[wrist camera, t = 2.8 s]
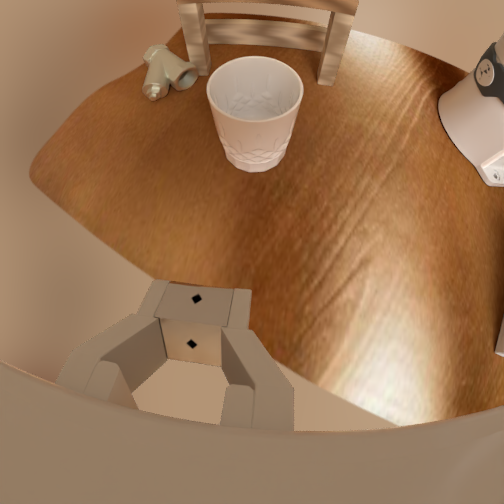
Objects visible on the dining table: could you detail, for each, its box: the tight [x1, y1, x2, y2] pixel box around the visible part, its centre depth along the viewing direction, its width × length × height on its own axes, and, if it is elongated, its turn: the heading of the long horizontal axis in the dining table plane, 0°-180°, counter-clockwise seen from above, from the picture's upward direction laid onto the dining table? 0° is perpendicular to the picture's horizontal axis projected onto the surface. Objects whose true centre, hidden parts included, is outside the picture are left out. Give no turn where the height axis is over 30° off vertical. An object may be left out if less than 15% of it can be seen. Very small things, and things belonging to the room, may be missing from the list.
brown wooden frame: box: [176, 0, 359, 86], centre depth 28 cm, size 18×8×14 cm, turn 84°
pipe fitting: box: [142, 44, 199, 101], centre depth 33 cm, size 8×4×7 cm
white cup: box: [207, 56, 303, 172], centre depth 27 cm, size 8×8×10 cm
